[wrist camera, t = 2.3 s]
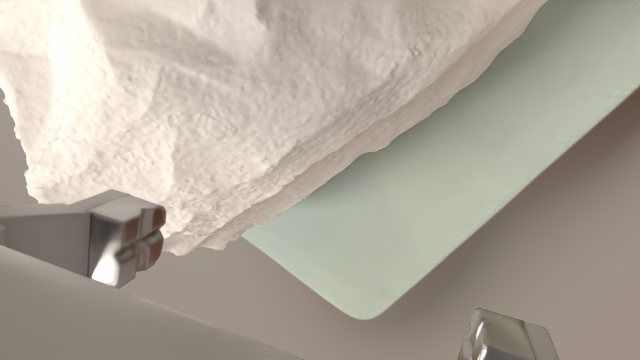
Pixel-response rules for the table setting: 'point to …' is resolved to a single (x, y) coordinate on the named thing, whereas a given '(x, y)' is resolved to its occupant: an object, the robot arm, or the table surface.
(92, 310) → the robot arm
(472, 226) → the table surface
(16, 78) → the rock
